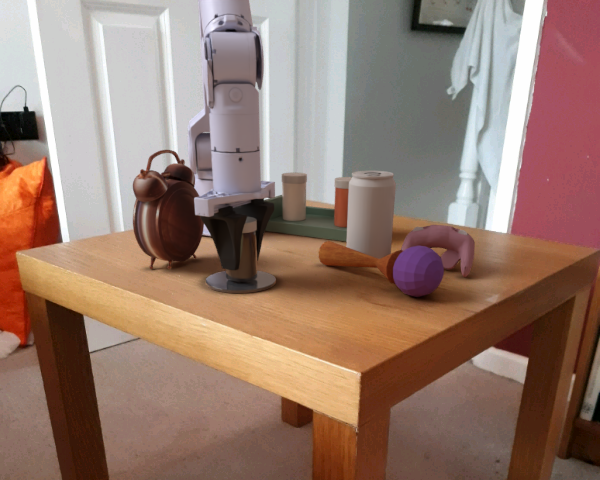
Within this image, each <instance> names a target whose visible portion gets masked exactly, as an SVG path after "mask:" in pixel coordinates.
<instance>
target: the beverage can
mask: <svg viewBox="0 0 600 480" xmlns="http://www.w3.org/2000/svg"><path fill="white" fill-rule="evenodd" d="M351 177H352V179H351V180H350V182H349V193H348V218H347V242H346V246H345V247H348V248H350V249H353V250H356V251H359V252H361V253H364V254H367V255H370V256H372V257H375V258H378V259H380V258H382V257H385V256H387V255H389V254H391V253H392V242H393V228H394V218H395V217H394V216H395V215H394V214H395V203H396V189H397V188H396V187H397V183H396V181H395V179H394V177H395V174H394V173H393V172H390V171H385V170H356V171H353V172H352V173H351Z"/></svg>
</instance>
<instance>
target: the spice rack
mask: <svg viewBox="0 0 600 480" xmlns="http://www.w3.org/2000/svg"><path fill="white" fill-rule="evenodd" d="M264 202H271V203H274V212H273V213H272V215H271V217H270V219H269V221H268V224H267V226H266V229H265V232H271V233H278V234H286V235H293V236H301V237H309V238H317V239H324V240H329V241H340V242H344V243H345V242H346V243H347V228H344V227H337V226H335V225H334V208H328V207H320V206H319V207H318V206H312V205H311V206H310V205H306V219H305V220H302V221H287V220H284V219H283V218H282V194H279V195H275V197H274V198H265V199H264Z"/></svg>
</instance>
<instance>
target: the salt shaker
mask: <svg viewBox="0 0 600 480" xmlns="http://www.w3.org/2000/svg"><path fill="white" fill-rule="evenodd" d="M307 182H308V173H306V172H305V173H304V172H293V171H292V172H284V173H283V172H282V173H281V193H282V194H281V195H282V218H283V219H284V220H287V221H302V220H305V219H306V206H307Z"/></svg>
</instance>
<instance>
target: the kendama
mask: <svg viewBox="0 0 600 480" xmlns="http://www.w3.org/2000/svg"><path fill="white" fill-rule="evenodd" d="M440 257H441V255H439V254H438V252H436V251H435V250H434V248H428V247H425V246H419V245H418V246H414V247H410V248H408V249H405V250H404V251H403V250H401V249H399V250H396V251H393V252H391V254H389V255H387V256H385V257H382V258H380V259H378V258H375V257H372V256H370V255H367V254H364V253H361V252H359V251H356V250H353V249H350V248H348V247H346V246H344V245H342V244H339V243H337V242H334V241H332V240H326V241H324V242H322V243H321V246H320V247H319V249H318V259H319V261H320V263H321V264H322V265H325V266H334V267H355V268H371V269H373V268H374V269H375V268H376V269H378V270H379V272H380V273H382V275H383V276H384V277H385V278H386V279H387V281H389V282H390V284H392V285H395V286H396V287H397V288H398V289H399V290H400V291H401V292H402V293H403V294H404V295H408V296H411V297H416V298H420V297H424V296H426V295H430V294H432V293H433V292H435V291H436V290H437V288H438V287H439V286H440V284H441V282H442V281H443V278H444V272H445V269H444V268H443V264H442V260H441V258H440Z"/></svg>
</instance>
